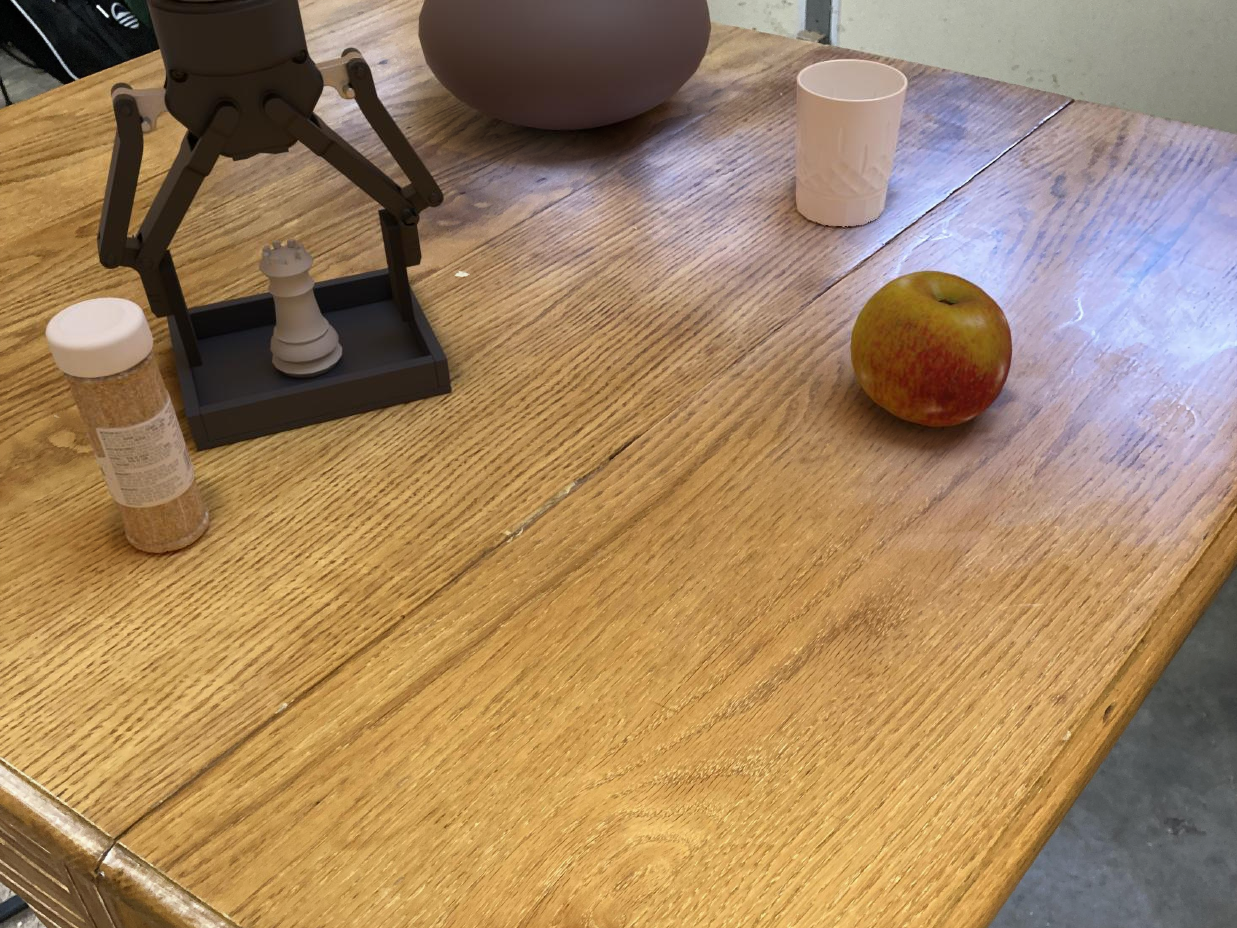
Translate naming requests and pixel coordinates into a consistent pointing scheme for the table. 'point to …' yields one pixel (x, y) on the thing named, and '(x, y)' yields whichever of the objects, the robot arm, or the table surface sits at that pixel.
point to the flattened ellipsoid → (563, 56)
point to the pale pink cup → (846, 139)
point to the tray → (273, 401)
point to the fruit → (932, 348)
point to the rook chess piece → (297, 314)
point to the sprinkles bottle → (129, 421)
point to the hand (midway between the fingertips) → (301, 333)
